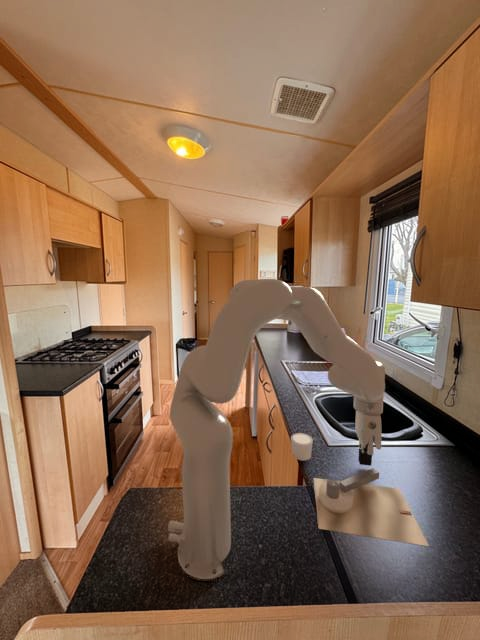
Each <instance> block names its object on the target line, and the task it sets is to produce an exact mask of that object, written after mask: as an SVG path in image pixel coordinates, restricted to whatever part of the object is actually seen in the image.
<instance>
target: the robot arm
mask: <svg viewBox="0 0 480 640" xmlns="http://www.w3.org/2000/svg"><path fill="white" fill-rule="evenodd" d="M228 295H229V296H228V301H227V302H226V303H225V304H224V305H223V306H222V308H221V309H220V310H219V311H218V313H217V315H216V317H215V319H214V320H213V321H214V322H213V323H212V327H211V328H210V329H211V330H210V332H209V335H208V338H207V341H206V344H205V345H200V346H197V347H195V348H193V349H191V350H190V352H189V353H188V354H187V355H186V357H185V358H184V360H183V362H182V365H181V367H180V371H179V374H178V379H177V381H176V382H177V383H176V385H175V388H174V392H173V396H172V400H171V405H170V409H169V419H170V422H171V423H170V424H171V425H172V427H173V429H174V431H175V434H177V437H178V440H179V441H180V445H181V447H182V451H183V460H182V467H181V482H182V484H181V486H182V502H183V503H182V504H183V508H182V509H183V522H179V521H177V520H170V521H169V522H168V526H167V531H168V532H170V533H169V535H168V539H167V540H168V542H171V543H177V544H178V548H177V560H178V565H179V564H180V565H179V567H180V566H181V567H182V569H183V570H184V571H185V572H186V573H187V574H189V575H191V576H193V577H196V578H199V579H213V578H217V577H220V576H222V575H224V574H225V575H226V570H225V568H224V565H223V562H224V560H225V559H226V558H227V556H229V555H228V554H230V550H231V545H232V529H231V528H232V527H231V526H232V525H231V521H232V520H231V479H230V478H231V477H230V471H231V470H230V469H231V468H230V467H231V466H230V465H231V464H230V463H231V455H232V454H231V453H232V449H233V442H234V433H233V432H234V431H233V428H232V426H231V423H230V421H229V419H228V418H227V417H226V415H225V414H224V413H223V412H222V411H221V409H219V407H217V405H216V404H218V405H219V404H220V405H221V404H227V403H228V402H230V401H232V400H233V399H234V398H235V396H236V395H237V393H238V391H239V388H240V386H241V383H242V379H243V374H244V372H245V371H244V370H245V367H246V364H247V359H248V356H249V352H250V349H251V347H252V344H253V340H254V339H255V336H256V335H257V334H258V332H259V331H260V330H261V329H262V328H263V327H264V326H266V325H267V324H269V323H270V322H272V321H274V320H283V321H289V322H293V323H294V324H295V325H296V327H297V328H298V330H299V332H301V335H302V336H303V337H304V339H305V340H306V342H307V344H308V345H309V347H310V348H311V350H313V352H314V353H315V354H316V355H318V356H319V357H321V358H322V359H324V360H325V361H326V362H328V363H330V364H332V366H331V367H330V368H329V369H328V372H327V380H328V381H329V383H330V384H331V386H333V387H334V388H335V389H338V390H340V391H343V392H344V393H347V394H350V395H353V409H354V410H355V422H354V423H355V426H354V427H355V430H354V431H355V433H356V436H357V438H358V447H359V448H358V463H359V465H360V466H361V465H362V466H368V467H371V466H372V464H373V463H372V461H373V456H374V446H375V448H376V449H377V450H379V451H380V450H381V449H382V417H381V414H383V412H384V396H385V395H384V394H385V390H386V382H385V380H386V379H385V377H386V367H385V364H383V363H382V362H381V361H378V360H375V359H374V358H373V356H372V355H371V354H370V353H368V352H367V350H365V349H364V348H363V347H362V346H360V345H359V343H357V342H356V341H355V340H354V339H352V338H351V337H350V336H348V335H347V333H345V332H344V331H343V330H342V326H341V325H340V324H339V322H338V320H337V319H336V316H335V315H334V313H333V312H332V310H331V308H330V306H329V305H328V303H327V300H326V299H325V298H324V296H323V294H322V293H321V292H320V291H319V290H317V289H316V288H314V287H311V286H289V285H288V284H287V283H286V282H285V281H283V280H279V279H277V278H276V279H275V278H259V279H246V280H245V279H244V280H241V281H238V282H237V283H235V284H234V285H233V287H232V288H231V289H230V292H229V294H228ZM214 403H215V404H214ZM176 533H180V534H176ZM186 566H189V568H185V567H186ZM213 572H216V574H213ZM225 575H224V576H225ZM222 577H223V576H222Z"/></svg>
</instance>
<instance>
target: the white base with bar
mask: <svg viewBox="0 0 480 640" xmlns="http://www.w3.org/2000/svg"><path fill="white" fill-rule="evenodd" d="M379 479H380V472H379V471H378V470H377V469H376V468H374V467H373V468H370V469H368V470H365V471H362V472H360V473H357V474H355V475H352V476H350V477H348V478H345V479H342V480H339V481H340V482H339V483H338V482H337V481H338V480H335V479H327V480H328V481H327V482H324V483H322V484H321V485H320V487H319V500H320V502H321V504H322V505H323V506H324V507H325V508H326V509H328V510H329V511H331V512H334V513H338V514H344V513H348V512H349V511H351V509H352V507H353V494H352V492H351V491H350V490H353V489H355V488H357V487H360V486H362V485H364V484H367V485H368V484H370V483H371V482H374V481H376V480H379ZM334 480H335V481H334Z"/></svg>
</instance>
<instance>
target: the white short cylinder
mask: <svg viewBox="0 0 480 640" xmlns="http://www.w3.org/2000/svg"><path fill="white" fill-rule="evenodd" d="M313 441H314V440H313V437H312V436H310V435H309V434H308V433H307V434H306V433H303V432H296V433H293V434H292V435H291V436H290V445H291V455H292V457H293V458H294V459H295V460H299V461H308V460H310V459H311V458H312V449H313V443H314V442H313Z"/></svg>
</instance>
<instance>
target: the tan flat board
mask: <svg viewBox="0 0 480 640" xmlns="http://www.w3.org/2000/svg"><path fill="white" fill-rule="evenodd" d="M328 480H329V479H325V478H317V477H313V486H314V495H315V496H314V497H315V505H316V506H315V507H316V516H317V517H316V518H317V525H318V526H317V527H318V529H319V530H323V531H324V530H326V531H332V532H335V533H336V532H337V533H344V534H349V535H356V536H363V537H366V538H367V537H368V538H373V539H380V540H386V541H387V540H388V541H393V542H400V543H404V544H406V543H407V544H411V545H418V546H419V545H420V546H423V547H424V546H425V547H429V546H430V545H429V543H428V541H427V540H426V537H425V536H424V533H423V532H422V530H421V527H420V526H419V524H418V521H417V520H416V518H415V516H414V514H413V512H412V510H411V507H410V506H409V504H408V502H407V501H406V498H405V497H404V494H403V492H402V491H401V489H400V488H397V487H391V486H384V485H383V486H382V485H374V484H368V483H367V484H364V485H362V486H360V487H357V488H355V489H353V490H350V491H351V492H352V494H353V507H352V509H351V511H349V512H348V513H344V514H338V513H334V512H331V511H329V510H328V509H326V508H325V507H324V506H323V505H322V504H321V502H320V500H319V487H320V485H321V484H322V483H324V482H327V481H328ZM333 480H334V481H337V482H338V483H339V482H340V481H341V480H335V479H333Z"/></svg>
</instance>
